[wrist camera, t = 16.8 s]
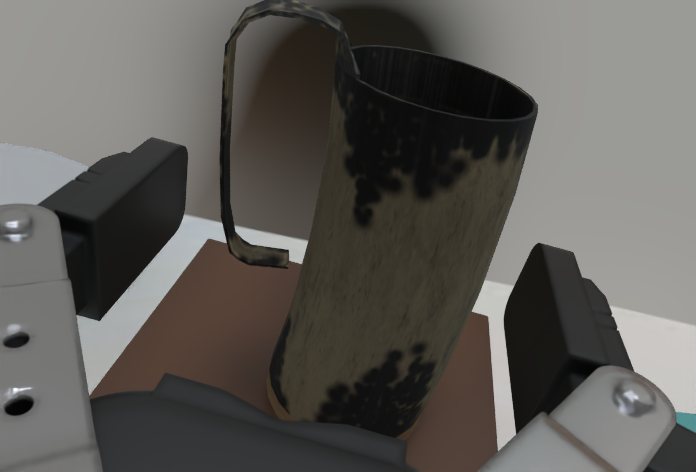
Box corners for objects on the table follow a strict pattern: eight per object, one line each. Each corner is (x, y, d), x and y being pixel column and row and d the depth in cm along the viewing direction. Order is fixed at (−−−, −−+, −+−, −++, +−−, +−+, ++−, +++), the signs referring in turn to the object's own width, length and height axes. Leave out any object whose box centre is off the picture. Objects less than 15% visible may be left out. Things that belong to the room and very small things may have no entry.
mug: (411, 338, 22) (525, 32, 16) (442, 461, 17) (620, 101, 11) (209, 318, 20) (242, -27, 14) (184, 447, 16) (217, 23, 10)
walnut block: (28, 595, 16) (7, 502, 14) (201, 319, 27) (208, 237, 25) (450, 725, 16) (513, 654, 13) (453, 391, 27) (488, 315, 24)
